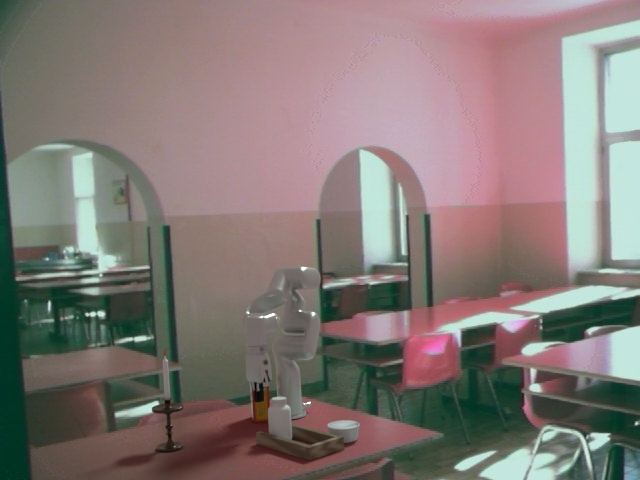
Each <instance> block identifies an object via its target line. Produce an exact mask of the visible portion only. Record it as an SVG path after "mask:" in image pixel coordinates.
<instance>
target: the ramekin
mask: <svg viewBox="0 0 640 480" xmlns="http://www.w3.org/2000/svg"><path fill="white" fill-rule="evenodd" d="M360 426H361V425H360V423H359V422H358V421H355V420H348V419H347V420H346V419H345V420H343V419H341V420H335V421H331V422H329V423H327V427H326V428H327V430H328V433H331V434H335V435H339V436H343V437H344V444H349V443H354V442H355V441H357V440H358V438H359V433H360Z"/></svg>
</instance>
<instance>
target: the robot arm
mask: <svg viewBox="0 0 640 480" xmlns="http://www.w3.org/2000/svg"><path fill="white" fill-rule="evenodd" d="M321 277H322V276H321V274H320V271H318V269H317V268H314V267H308V266H282V267H280V268H277V269H276V270H275V272H274V274H273V276H272V277H271V280H270V283H269V284H268V287H267V289H266V291H265V292H263V293H261V294H260V295H258V296H257V297H256V298H255V299H253V300H252V301H251V302H249V304H248V305H247V307H246V309H245V311H244V313H243V316H242V318H241V328H242V330H243V332H244V334H245V351H246V352H245V354H246V355H245V378H246V380H247V381H248V384H249V385H250V384H251V385H252V387H253V391H254V401H255V402H262V401H264V390H265V387H266V386H269V387H270V385H269V382H271V381H272V380H273V374H272V364H271V358H270V356H269V353H268V338H267V337H268V336H267V334H275V333H277V332H278V331H279V330H281V332H282V333H283V334H284V335H280V336H276V338H274V340H273V341H272V345H271V351H272V355H273V360H274V364H275V379H276V394H277V396H276V397H286V398H287V402H286V405H288V406H289V407H290V409H291V420H296V419H301V418H304V417H306V416H307V411H306V410H305V409H306V408H310V407H312V403H311V401H309V402H306V403H305V402H304V401H303V400H302V399H303V398H302V385H301V384H302V381H301V371H300V366H299V365H298V364H297V362H296V361H311V360H313V359H314V358H315V356H316V353H317V348H318V343H319V336H320V330H321V319H320V316H319V314H318V313H316V312H315V311H310V310H309V311H305V310H306V306H307V303H306V301H305V297H303V296H302V295H301V293H300V292H299V291H300V290H317V288H319V287H320V284H321V279H322V278H321ZM298 290H299V291H298ZM283 305H284V306H283ZM282 306H283V312H282V317H281V318H280V316H279V315H278V314H277V313H275V312H269V311H271V310H274V309H277V308H279V307H282Z"/></svg>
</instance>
